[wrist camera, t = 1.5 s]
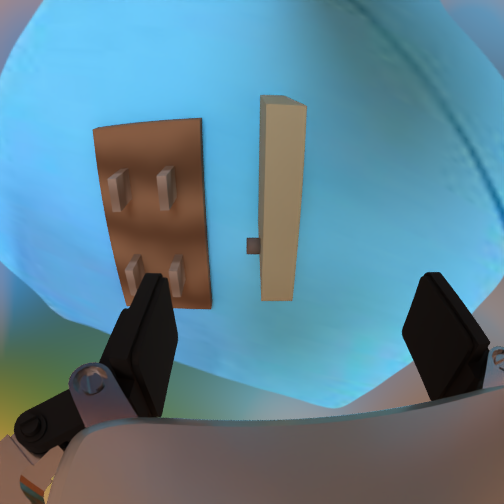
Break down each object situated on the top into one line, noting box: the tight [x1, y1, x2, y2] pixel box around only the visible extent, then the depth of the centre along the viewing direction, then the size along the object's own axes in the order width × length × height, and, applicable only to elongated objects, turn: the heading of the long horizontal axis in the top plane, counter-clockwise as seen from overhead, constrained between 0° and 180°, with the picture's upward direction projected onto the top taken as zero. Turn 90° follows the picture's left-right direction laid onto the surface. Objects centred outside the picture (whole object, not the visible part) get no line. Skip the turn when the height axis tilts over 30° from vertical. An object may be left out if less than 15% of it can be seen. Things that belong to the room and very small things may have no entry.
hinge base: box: [93, 118, 212, 309], centre depth 29 cm, size 20×10×4 cm, turn 0°
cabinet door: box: [247, 95, 307, 301], centre depth 23 cm, size 12×3×12 cm, turn 0°
